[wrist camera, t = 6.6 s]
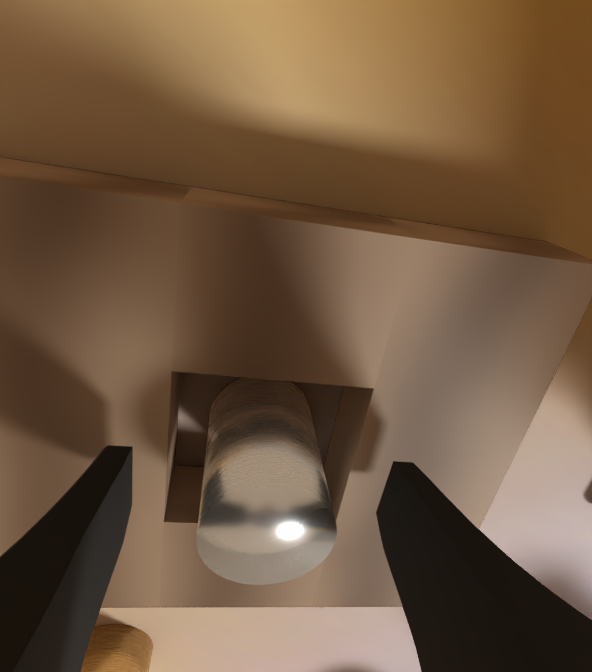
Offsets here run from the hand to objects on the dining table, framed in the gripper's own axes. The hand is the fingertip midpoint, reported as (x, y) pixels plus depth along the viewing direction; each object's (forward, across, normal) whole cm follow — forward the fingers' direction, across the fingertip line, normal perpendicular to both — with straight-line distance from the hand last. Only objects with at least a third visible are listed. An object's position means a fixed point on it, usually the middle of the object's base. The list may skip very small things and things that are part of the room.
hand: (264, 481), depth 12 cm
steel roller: (+3, 0, 0) cm, 3 cm away
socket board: (+3, 0, 0) cm, 3 cm away
